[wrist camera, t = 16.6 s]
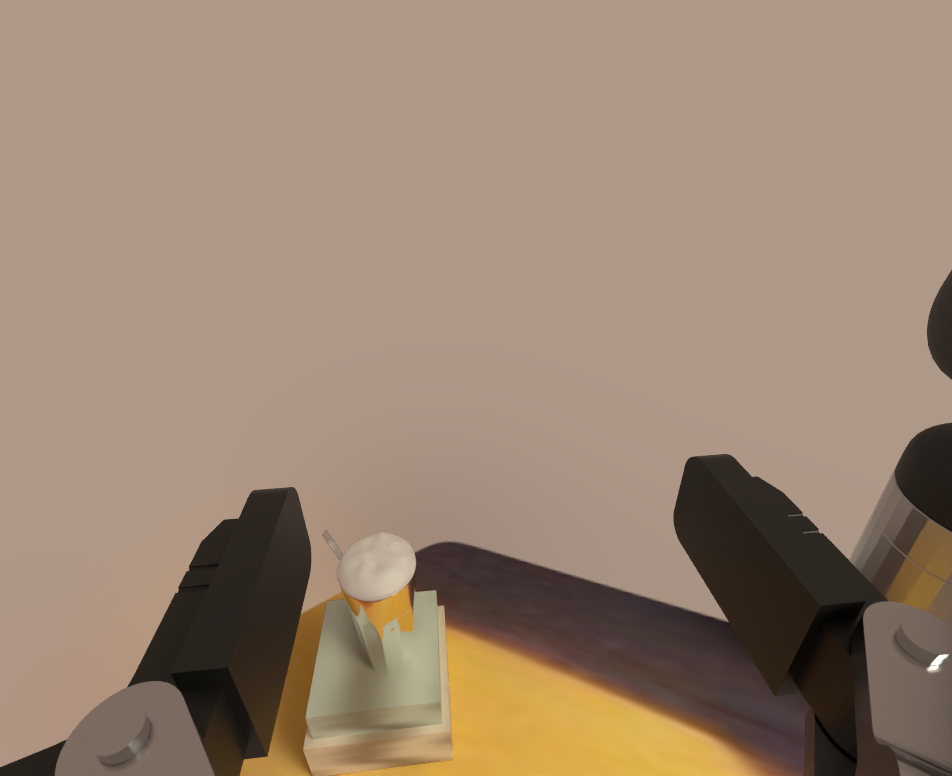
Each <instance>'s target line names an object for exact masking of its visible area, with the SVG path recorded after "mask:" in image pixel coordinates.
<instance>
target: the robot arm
mask: <svg viewBox="0 0 952 776" xmlns="http://www.w3.org/2000/svg"><path fill="white" fill-rule="evenodd" d="M927 338H928V346H929V349H930V352H931V355H932V358H933V359H934V361H935V362H936V364H937V365H938V367H939V368H940V370H941V371H942V372H943V373H945V374H946V375H947V376H948V377H949V378H951V379H952V271H951V272H950V274H949V275H948V277H947V278H946V280H945V281H944V283H943V285H942V286H941V288H940V290H939V292H938V294H937V296H936V298H935V300H934V302H933V305H932V308H931V311H930V315H929V320H928V326H927ZM674 526H675V531H676V534H677V537H678V539H679V541H680V543H681V544H682V546H683V548H684V549H685V551H686V553H687V554H688V556H689V558H690V559H691V561H692V562H693V564H694V566H695V567H696V569H697V571H698V572H699V574H700V575H701V577H702V579H703V580H704V582H705V584H706V585H707V587H708V588H709V590H710V592H711V593H712V595H713V596H714V598H715V600H716V601H717V603H718V605H719V606H720V608H721V609H722V611H723V613H724V614H725V616H726V618H727V619H728V621H729V623H730V624H731V626H732V627H733V629H734V631H735V632H736V634H737V636H738V637H739V639H740V640H741V642H742V644H743V645H744V647H745V649H746V650H747V652H748V653H749V655H750V657H751V658H752V660H753V662H754V663H755V665H756V666H757V668H758V670H759V671H760V673H761V675H762V676H763V678H764V679H765V681H766V683H767V684H768V686H769V688H770V689H771V691H772V692H773V694H774V696H780V695H788V694H796V693H802V695H803V696H804V698H805V699H806V701H807V702H808V704H809V705H810V707H809V709H808V711H807V713H806V718H805V759H804V776H952V423H946V424H941V425H937V426H933V427H931V428H928V429H925V430H924V431H922V432H920V433H918V434H917V435H916V436H915V437H914V438H913V439H912V440H911V441H910V443H909V444H908V446H907V447H906V449H905V450H904V452H903V454H902V456H901V458H900V460H899V462H898V464H897V466H896V468H895V470H894V472H893V474H892V476H891V478H890V480H889V482H888V483H887V485H886V487H885V489H884V491H883V493H882V495H881V497H880V499H879V501H878V503H877V506H876V507H875V509H874V511H873V513H872V515H871V517H870V519H869V521H868V523H867V525H866V527H865V529H864V531H863V533H862V535H861V537H860V539H859V541H858V543H857V545H856V546H855V548H854V550H853V552H852V554H851V556H850V558H849V560H848V559H847V558H846V557H845V556H844V555H843V554H842V553H841V552H840V551H839V550H838V549H837V548H836V547H835V545H834V544H833V543H832V542H831V541H830V540H829V539H828V538H827V537H826V536H825V535H824V534H820V533H819V531H818V528H817V527H816V526H815V525H814V524H813V523H812V522H811V521H810V520H809V519H808V518H807V517H804V516H803V515H802V511H801V510H799V508H798V507H797V506H796V505H795V504H794V503H793V502H792V501H791V500H790V499H789V498H788V497H787V496H786V495H785V494H784V493H783V492H781V491H780V490H778V489H776V488H775V487H773V486H772V485H770V484H768V483H767V482H765V481H764V480H762V479H761V478H759V477H751V476H750V475H749V473H748V472H747V471H746V470H745V469H744V468H743V467H742V466H741V465H740V464H739V463H738V461H737V460H736V459H735V458H734V457H732V456H731V455H728V454H721V455H708V456H695V457H691V458H689V459H688V460H687V462H686V465H685V468H684V473H683V476H682V480H681V485H680V489H679V493H678V497H677V501H676V505H675V509H674ZM310 569H311V546H310V540H309V536H308V532H307V529H306V525H305V521H304V517H303V513H302V509H301V505H300V501H299V497H298V493H297V491H296V489H295V488H294V487H288V488H276V489H262V490H254V491H252V492H251V493H250V495H249V497H248V499H247V501H246V504H245V506H244V508H243V510H242V513H241V515H240V517H239V519H229V520H223V521H222V522H221V523H220V524H219V525H218V526H217V527H216V528H215V529H214V530H213V531H212V532H211V533H210V534H209V535H208V536H207V537H206V538H205V539H204V540H203V541H202V542H201V544H200V546H199V548H198V550H197V552H196V554H195V556H194V558H193V560H192V562H191V564H190V566H189V571H187V572H186V574H185V576H184V577H183V579H182V582H181V584H180V586H179V591H178V593H176V594H175V595H174V597H173V599H172V601H171V603H170V605H169V607H168V609H167V611H166V613H165V615H164V617H163V619H162V621H161V623H160V625H159V627H158V629H157V631H156V633H155V635H154V637H153V639H152V641H151V643H150V645H149V647H148V649H147V651H146V653H145V655H144V657H143V659H142V661H141V663H140V665H139V667H138V669H137V670H136V673H135V674H134V676H133V678H132V680H131V682H130V683H129V685H128V687H127V688H126V689H123V690H121V691H119V692H117V693H116V694H114V695H112V696H110V697H109V698H108V699H106V700H105V701H103V702H102V703H100V704H99V705H98V706H97V707H96V708H94V709H93V710H92V711H91V712H90V713H89V714H88V715H87V716H86V717H85V718H84V719H83V720H82V721H81V722H80V723H79V725H78V726H77V727H76V728H75V729H74V731H73V732H72V733H71V735H70V736H69V738H68V739H67V740H65V741H62V742H60V743H58V744H56V745H54V746H51V747H49V748H47V749H44V750H42V751H39V752H37V753H34V754H32V755H29V756H27V757H25V758H22V759H20V760H17V761H15V762H12V763H10V764H8V765H5V766H3V767H0V776H239V775H240V772H241V768H242V764H243V760H244V759H250V758H258V757H266V756H268V751H269V747H270V743H271V738H272V734H273V730H274V726H275V721H276V717H277V713H278V709H279V704H280V700H281V696H282V691H283V687H284V683H285V679H286V674H287V670H288V666H289V661H290V657H291V653H292V649H293V644H294V640H295V636H296V632H297V627H298V623H299V619H300V614H301V610H302V605H303V602H304V597H305V593H306V589H307V584H308V580H309V576H310Z"/></svg>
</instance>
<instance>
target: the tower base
mask: <svg viewBox="0 0 952 776" xmlns="http://www.w3.org/2000/svg"><path fill="white" fill-rule="evenodd" d="M414 628H415V640H414V654H413V656H412V657H411V658H410V659H409V661H408V662H407V663H406V665H405V666H404V667H402V668H400V669H397V670H394V671H392V672H389V673H387V672H383V671H379V670H375V669H373V667H372V666H371V664H370V663H369V661H368V660H367V658H366V656H365V653H364V651H363V648H362V645H361V642H360V639H359V636H358V633H357V630H356V627H355V624H354V621H353V618H352V615H351V612H350V610H349V607H348V605H347V602H346V600H345V599H342V600H332V601H327V604H326V609H325V614H324V620H323V625H322V631H321V636H320V641H319V647H318V652H317V657H316V663H315V668H314V674H313V679H312V684H311V690H310V695H309V701H308V706H307V711H306V717H305V718H306V721H307V730H306V735H305V741H304V746H303V751H304V754H305V757H306V759H307V762H308V765H309V768H310V770H311V773H312V776H329V775H336V774H344V773H352V772H360V771H368V770H375V769H383V768H391V767H399V766H407V765H415V764H422V763H430V762H438V761H446V760H453V752H452V734H451V716H450V698H449V679H448V661H447V643H446V627H445V613H444V606H437V596H436V590H433V591H423V592H415V596H414Z"/></svg>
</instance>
